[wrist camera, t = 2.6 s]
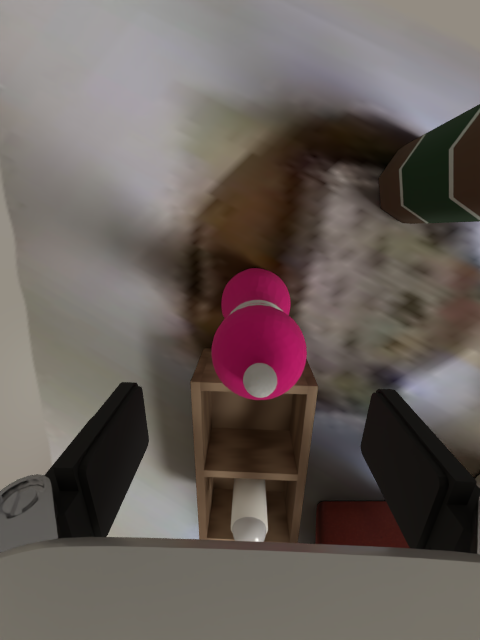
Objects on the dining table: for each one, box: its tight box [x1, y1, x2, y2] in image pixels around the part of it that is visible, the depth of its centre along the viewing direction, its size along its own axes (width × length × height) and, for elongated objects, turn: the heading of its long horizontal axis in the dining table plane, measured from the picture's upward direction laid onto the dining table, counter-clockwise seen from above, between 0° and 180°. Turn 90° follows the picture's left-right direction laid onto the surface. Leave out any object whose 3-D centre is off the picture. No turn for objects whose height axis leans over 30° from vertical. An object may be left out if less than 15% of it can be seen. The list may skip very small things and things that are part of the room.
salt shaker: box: [231, 478, 268, 542], centre depth 34 cm, size 4×4×11 cm
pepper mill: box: [211, 268, 307, 400], centre depth 22 cm, size 7×7×20 cm
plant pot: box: [315, 501, 410, 548], centre depth 36 cm, size 19×19×17 cm
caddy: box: [190, 348, 318, 543], centre depth 34 cm, size 13×25×8 cm, turn 179°
